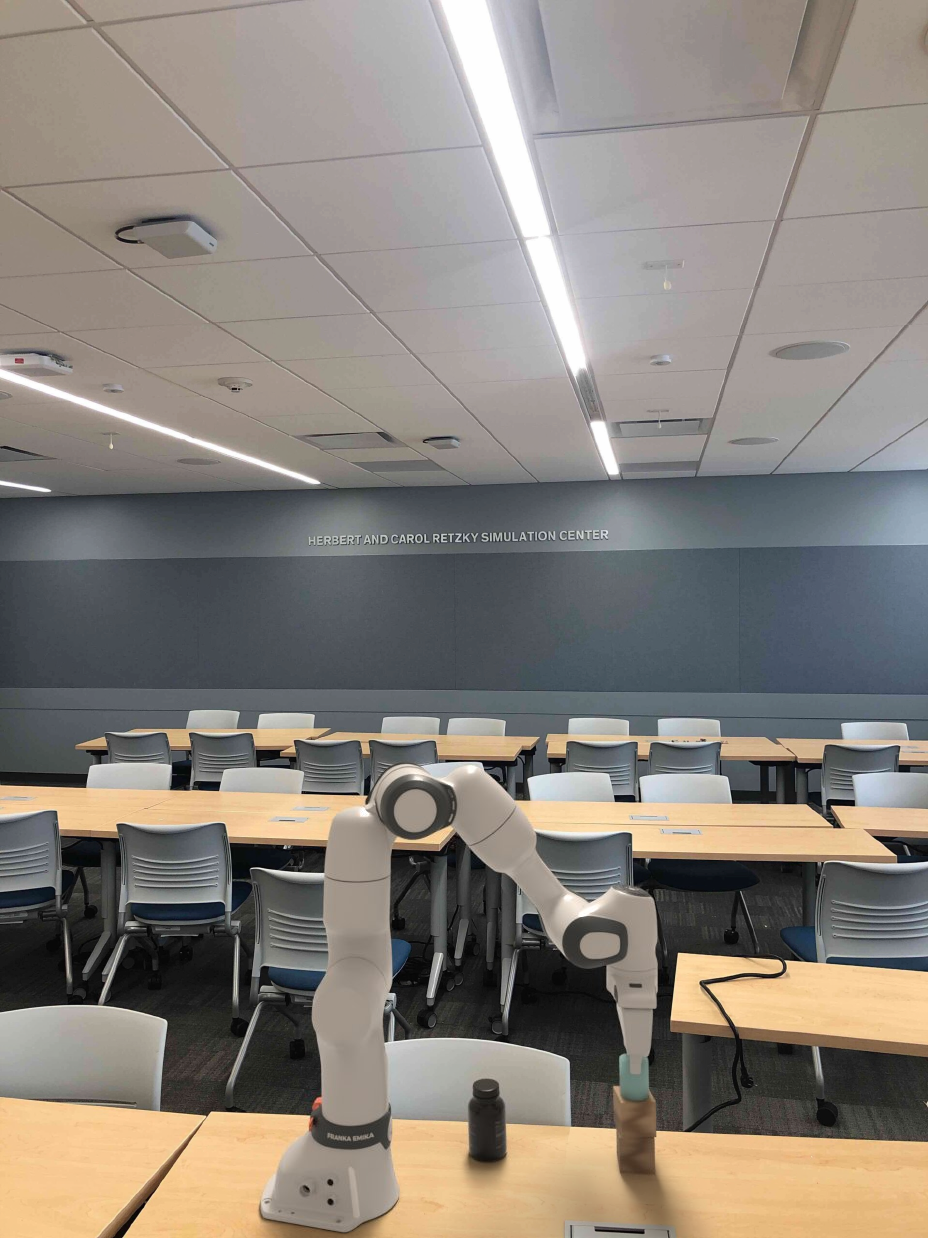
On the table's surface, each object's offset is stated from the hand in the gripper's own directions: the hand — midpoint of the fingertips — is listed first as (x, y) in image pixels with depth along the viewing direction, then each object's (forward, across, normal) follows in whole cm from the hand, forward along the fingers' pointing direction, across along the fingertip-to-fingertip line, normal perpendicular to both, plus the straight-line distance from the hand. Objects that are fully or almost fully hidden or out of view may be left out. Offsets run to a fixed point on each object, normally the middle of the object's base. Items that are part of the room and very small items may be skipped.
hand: (632, 1059), depth 156 cm
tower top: (+12, 0, 0) cm, 12 cm away
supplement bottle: (+18, -2, -25) cm, 31 cm away
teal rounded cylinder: (+6, 0, 0) cm, 6 cm away
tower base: (+18, 0, +1) cm, 18 cm away
